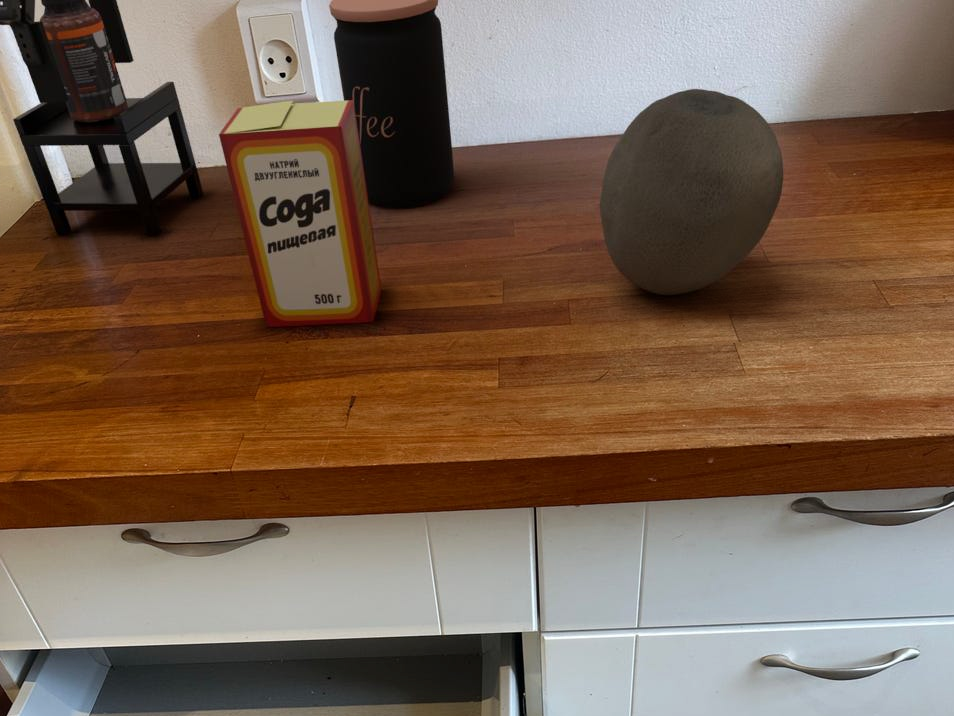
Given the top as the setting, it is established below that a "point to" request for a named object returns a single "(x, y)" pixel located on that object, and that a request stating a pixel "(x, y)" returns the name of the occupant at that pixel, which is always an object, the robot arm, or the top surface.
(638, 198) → the dark grey oval lump
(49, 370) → the top surface
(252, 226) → the baking soda box
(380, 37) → the coffee jar
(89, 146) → the rack
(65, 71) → the supplement bottle
